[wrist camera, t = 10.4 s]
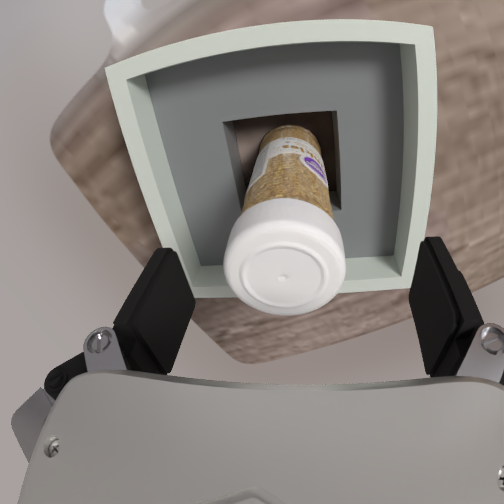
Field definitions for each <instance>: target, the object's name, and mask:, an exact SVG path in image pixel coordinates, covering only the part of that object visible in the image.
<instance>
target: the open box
mask: <svg viewBox="0 0 504 504" xmlns="http://www.w3.org/2000/svg"><path fill="white" fill-rule="evenodd" d="M105 71H106V75H107V79H108V83H109V87H110V91H111V94H112V98H113V102H114V105H115V109H116V112H117V116H118V119H119V123H120V126H121V129H122V133H123V136H124V139H125V142H126V146H127V149H128V152H129V155H130V158H131V161H132V164H133V167H134V170H135V173H136V176H137V179H138V182H139V185H140V188H141V191H142V193H143V196H144V199H145V202H146V205H147V207H148V210H149V213H150V215H151V218H152V221H153V223H154V226H155V229H156V231H157V234H158V236H159V239H160V242H161V244H162V247H163V248H172V249H173V251H176V252H177V254H178V256H179V259H180V262H181V264H182V267H183V270H184V272H185V275H186V278H187V280H188V283H189V285H190V288H191V290H192V293H193V295H194V298H226V297H237V296H236V295H235V294H234V293H233V291H232V290H231V289H230V287H229V285H228V283H227V281H226V278H225V276H224V270H223V260H224V254H225V250H226V247H227V243H228V240H229V236H230V233H231V230H232V228H233V226H234V224H235V222H236V221H237V219H238V218H239V217H240V216H241V213H242V209H243V206H244V200H245V196H246V192H247V191H246V186H245V181H244V175H243V170H242V165H241V160H240V155H239V150H238V145H237V140H236V135H235V129H234V124H233V120H239V119H246V118H254V117H262V116H270V115H280V114H290V113H303V112H317V111H332V121H333V134H334V149H335V167H336V191H329V198H330V204H331V207H332V214H333V219H334V222H335V223H336V225H337V227H338V228H339V231H340V233H341V237H342V241H343V247H344V253H345V261H346V274H345V278H344V281H343V284H342V286H341V288H340V290H339V291H338V293H347V292H362V291H376V290H389V289H401V288H411V284H412V280H413V275H414V271H415V266H416V261H417V256H418V251H419V246H420V242H421V241H424V236H425V230H426V224H427V218H428V212H429V205H430V198H431V190H432V182H433V172H434V162H435V149H436V130H437V72H436V55H435V43H434V33H433V27H432V26H426V25H419V24H411V23H402V22H392V21H378V20H353V19H333V20H307V21H293V22H283V23H273V24H265V25H258V26H251V27H245V28H239V29H233V30H228V31H223V32H218V33H214V34H209V35H205V36H200V37H196V38H192V39H188V40H185V41H181V42H177V43H174V44H170V45H167V46H164V47H161V48H157V49H154V50H151V51H148V52H145V53H142V54H139V55H137V56H134V57H131V58H128V59H126V60H123V61H121V62H118V63H115V64H113V65H111V66H108V67H106V68H105Z"/></svg>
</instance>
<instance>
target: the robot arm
mask: <svg viewBox="0 0 504 504" xmlns="http://www.w3.org/2000/svg"><path fill="white" fill-rule="evenodd" d="M409 303H410V307H411V311H412V315H413V318H414V322H415V326H416V330H417V334H418V338H419V343H420V348H421V352H422V357H423V362H424V367H425V371H426V374H427V375H429V374H430V377H431V378H423V379H414V380H401V381H389V382H375V383H359V384H332V385H284V384H283V385H282V384H257V383H240V382H226V381H213V380H203V379H193V378H185V377H177V376H168V375H167V373H170V372H171V370H172V368H173V365H174V362H175V359H176V356H177V354H178V351H179V348H180V345H181V342H182V340H183V337H184V334H185V332H186V329H187V326H188V324H189V321H190V318H191V316H192V313H193V310H194V308H195V298H194V295H193V293H192V290H191V288H190V285H189V283H188V280H187V278H186V275H185V272H184V270H183V267H182V264H181V262H180V259H179V256H178V254H177V252H176V251H173V249H172V248H158V249H156V250H155V252H154V254H153V255H152V257H151V258H150V260H149V262H148V263H147V265H146V267H145V268H144V270H143V272H142V273H141V275H140V277H139V278H138V280H137V282H136V284H135V285H134V287H133V288H132V290H131V292H130V294H129V295H128V297H127V299H126V300H125V302H124V304H123V306H122V308H121V310H120V311H119V313H118V315H117V316H116V318H115V321H114V322H113V323H114V327H113V328H112V329H111V328H109V327H101V328H98V329H96V330H94V331H93V332H91V333H90V334H89V335H88V337H87V338H86V340H85V342H84V352H82V353H80V354H79V355H77V356H75V357H74V358H72V359H70V360H68V361H66V362H65V363H63V364H61V365H59V366H58V367H56V368H54V369H53V370H51V371H50V373H49V374H48V375H47V377H46V379H45V383H44V389H42V388H41V387H40V388H39V390H37V391H36V392H35V393H34V394H33V395H32V396H31V397H30V398H29V399H28V400H27V401H26V402H25V403H24V404H23V405H22V406H21V407H20V408H19V409H17V410H16V412H15V413H14V414H13V417H12V421H11V425H12V429H13V431H14V433H15V436H16V438H17V440H18V442H19V444H20V446H21V448H22V450H23V452H24V454H25V456H26V458H27V460H28V462H29V465H28V468H27V472H26V475H25V478H24V481H23V485H22V489H21V493H20V496H19V500H18V504H504V328H502V327H501V326H499V325H496V324H494V323H487V324H484V322H483V320H482V317H481V314H480V312H479V310H478V307H477V305H476V303H475V300H474V298H473V296H472V294H471V291H470V289H469V287H468V285H467V283H466V281H465V279H464V276H463V274H462V273H461V272H460V271H459V270H458V269H457V267H456V265H455V263H454V261H453V259H452V257H451V256H450V254H449V252H448V250H447V248H446V246H445V244H444V242H443V241H442V239H441V237H426V238H425V240H424V241H421V242H420V246H419V251H418V256H417V261H416V266H415V271H414V275H413V280H412V284H411V288H410V292H409Z"/></svg>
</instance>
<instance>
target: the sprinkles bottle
mask: <svg viewBox="0 0 504 504" xmlns="http://www.w3.org/2000/svg"><path fill="white" fill-rule="evenodd" d="M223 270H224V276H225V278H226V281H227V283H228V285H229V287H230V289H231V290H232V291H233V293H234V294H235V295H236V296H237V297H238V298H239V299H240V300H242V301H243V302H244V303H246V304H247V305H249V306H250V307H252V308H254V309H257V310H259V311H262V312H265V313H269V314H275V315H286V316H287V315H298V314H304V313H307V312H311V311H313V310H316V309H318V308H320V307H322V306H323V305H325V304H326V303H328V302H329V301H330V300H331V299H332V298H333V297H334V296H335V295H336V294H337V293H338V291H339V290H340V288H341V286H342V284H343V281H344V278H345V274H346V261H345V253H344V247H343V241H342V237H341V233H340V231H339V228H338V227H337V225H336V223H335V222H334V219H333V214H332V207H331V204H330V198H329V191H328V182H327V177H326V172H325V168H324V163H323V160H322V151H321V147H320V144H319V142H318V140H317V139H316V137H315V136H314V135H313V134H312V133H311V132H310V131H309V130H307V129H305V128H303V127H301V126H297V125H289V124H288V125H282V126H279V127H277V128H274V129H273V130H271V131H270V132H269V133H268V134H266V135H265V136H264V138H263V141H262V142H261V145H260V149H259V155H258V157H257V160H256V163H255V166H254V170H253V173H252V176H251V180H250V183H249V186H248V189H247V192H246V196H245V200H244V206H243V209H242V213H241V216H240V217H239V218H238V219H237V221H236V222H235V224H234V226H233V228H232V230H231V233H230V236H229V240H228V243H227V247H226V250H225V254H224V260H223Z"/></svg>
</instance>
